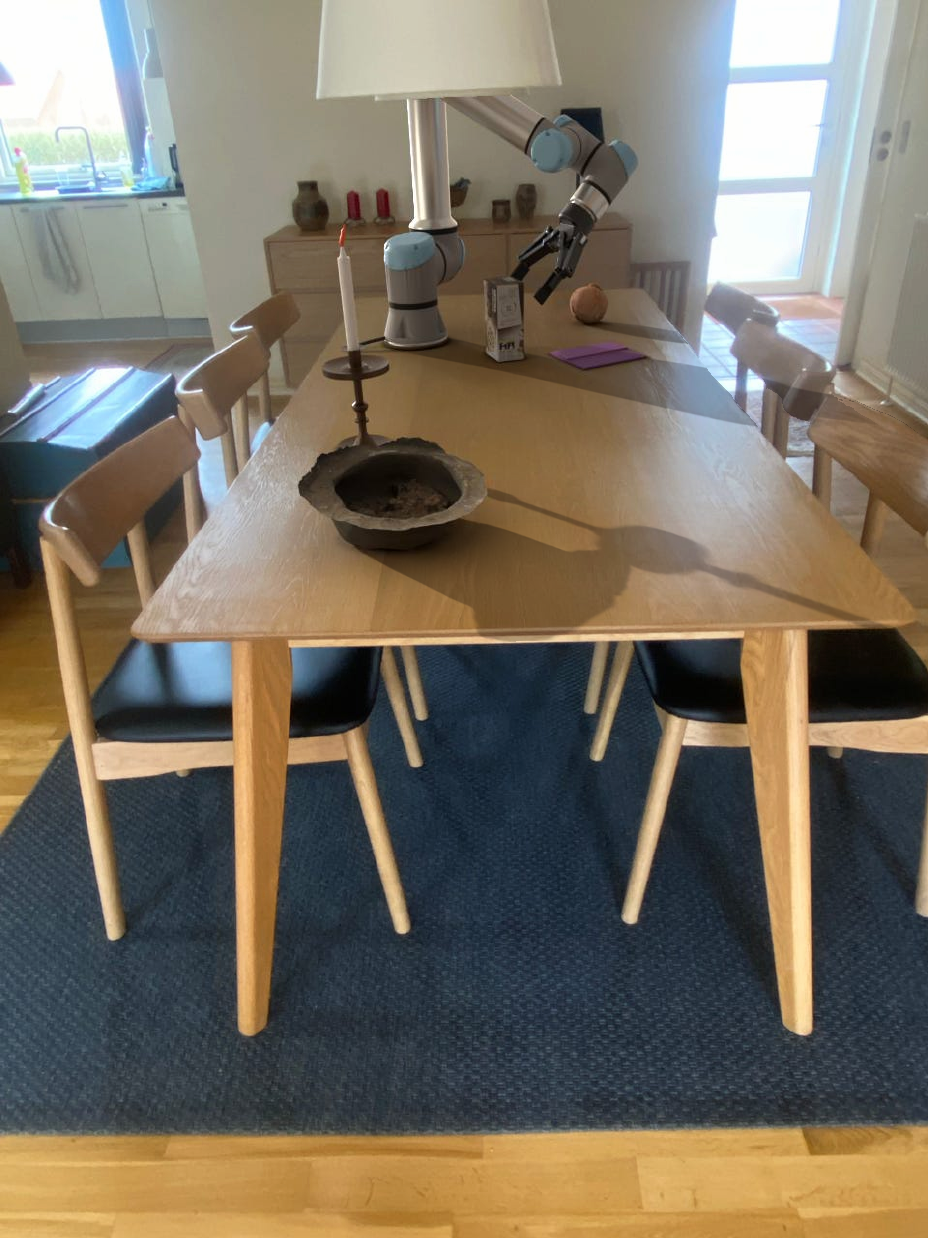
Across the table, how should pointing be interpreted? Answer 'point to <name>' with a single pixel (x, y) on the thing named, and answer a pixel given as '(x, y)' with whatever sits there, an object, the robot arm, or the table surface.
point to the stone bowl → (393, 492)
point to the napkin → (597, 355)
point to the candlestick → (354, 358)
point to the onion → (589, 304)
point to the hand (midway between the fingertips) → (521, 295)
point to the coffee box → (504, 318)
